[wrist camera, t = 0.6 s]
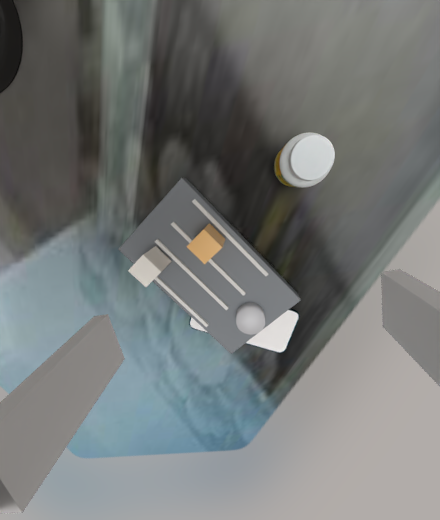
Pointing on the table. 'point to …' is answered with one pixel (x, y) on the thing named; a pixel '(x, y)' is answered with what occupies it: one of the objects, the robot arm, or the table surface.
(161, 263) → the slider ivory
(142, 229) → the console
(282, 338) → the smartphone
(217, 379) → the table surface
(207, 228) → the slider orange
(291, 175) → the supplement bottle
